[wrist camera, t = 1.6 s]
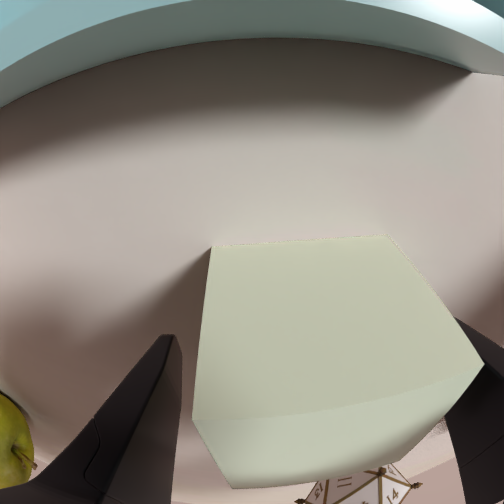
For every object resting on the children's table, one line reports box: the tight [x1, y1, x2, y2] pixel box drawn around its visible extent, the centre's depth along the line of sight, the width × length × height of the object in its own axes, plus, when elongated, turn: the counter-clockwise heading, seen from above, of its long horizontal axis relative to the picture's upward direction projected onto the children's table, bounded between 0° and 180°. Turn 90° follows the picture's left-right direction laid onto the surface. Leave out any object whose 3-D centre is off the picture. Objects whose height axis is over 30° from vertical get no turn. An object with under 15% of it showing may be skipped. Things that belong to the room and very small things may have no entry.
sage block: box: [192, 234, 484, 489], centre depth 7 cm, size 5×5×5 cm
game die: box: [294, 463, 422, 504], centre depth 14 cm, size 9×8×10 cm
